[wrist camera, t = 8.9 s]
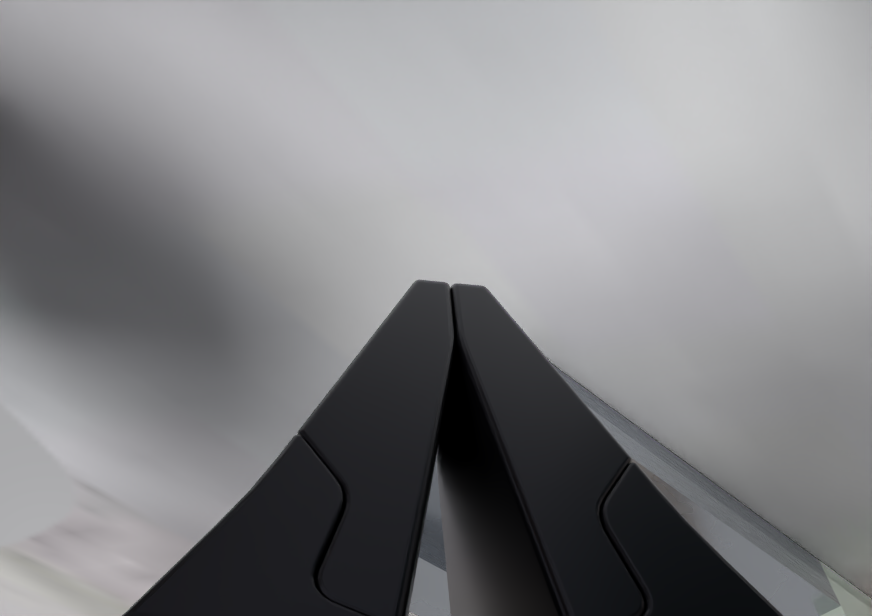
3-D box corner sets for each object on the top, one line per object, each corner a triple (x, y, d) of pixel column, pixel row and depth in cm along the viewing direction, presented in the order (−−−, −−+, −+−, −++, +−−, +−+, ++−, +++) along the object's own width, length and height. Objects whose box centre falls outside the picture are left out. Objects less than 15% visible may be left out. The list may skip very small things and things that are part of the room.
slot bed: (310, 512, 31) (303, 558, 30) (519, 340, 26) (526, 383, 24) (609, 670, 39) (617, 715, 37) (819, 560, 33) (840, 605, 32)
